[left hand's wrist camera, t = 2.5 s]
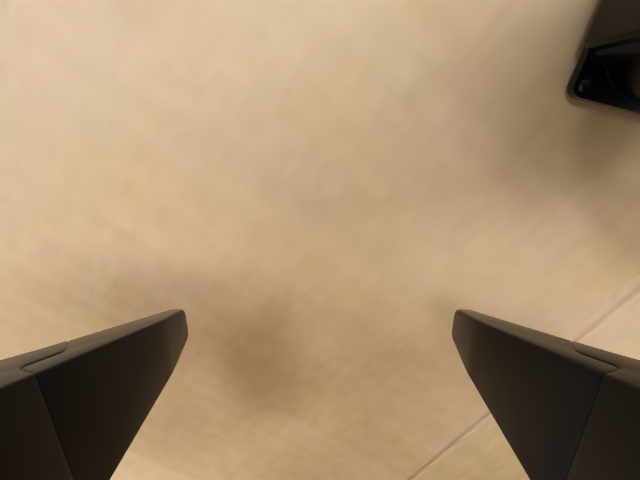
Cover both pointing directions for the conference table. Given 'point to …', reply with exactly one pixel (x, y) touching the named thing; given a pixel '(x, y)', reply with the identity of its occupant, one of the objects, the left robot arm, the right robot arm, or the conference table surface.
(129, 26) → the conference table surface
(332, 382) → the conference table surface
